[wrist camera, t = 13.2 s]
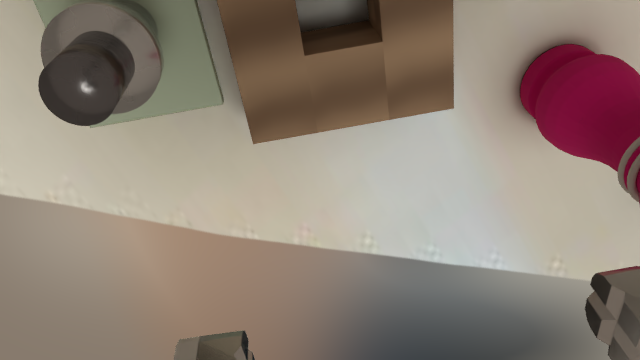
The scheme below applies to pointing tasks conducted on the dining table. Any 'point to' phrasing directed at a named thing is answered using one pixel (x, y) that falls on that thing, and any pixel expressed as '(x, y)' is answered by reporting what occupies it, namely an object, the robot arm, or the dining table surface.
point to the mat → (168, 59)
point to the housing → (339, 65)
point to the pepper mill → (588, 108)
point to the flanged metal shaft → (99, 60)
